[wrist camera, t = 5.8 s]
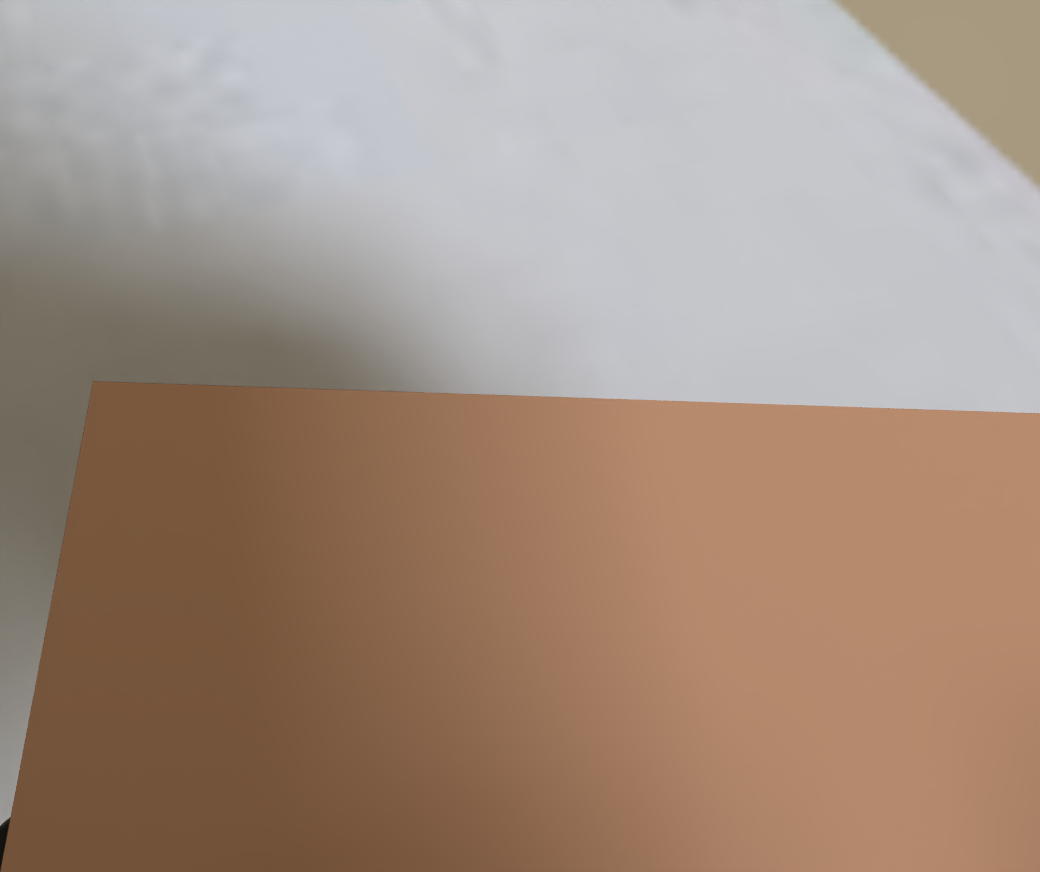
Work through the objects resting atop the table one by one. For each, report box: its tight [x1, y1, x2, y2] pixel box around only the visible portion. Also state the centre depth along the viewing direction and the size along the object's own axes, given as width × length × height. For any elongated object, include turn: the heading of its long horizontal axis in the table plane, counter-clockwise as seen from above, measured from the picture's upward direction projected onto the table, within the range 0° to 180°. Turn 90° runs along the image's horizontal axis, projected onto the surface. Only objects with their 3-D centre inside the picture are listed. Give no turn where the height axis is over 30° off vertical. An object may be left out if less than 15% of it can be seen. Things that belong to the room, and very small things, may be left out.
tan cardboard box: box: [0, 381, 1040, 872], centre depth 9 cm, size 7×7×10 cm
